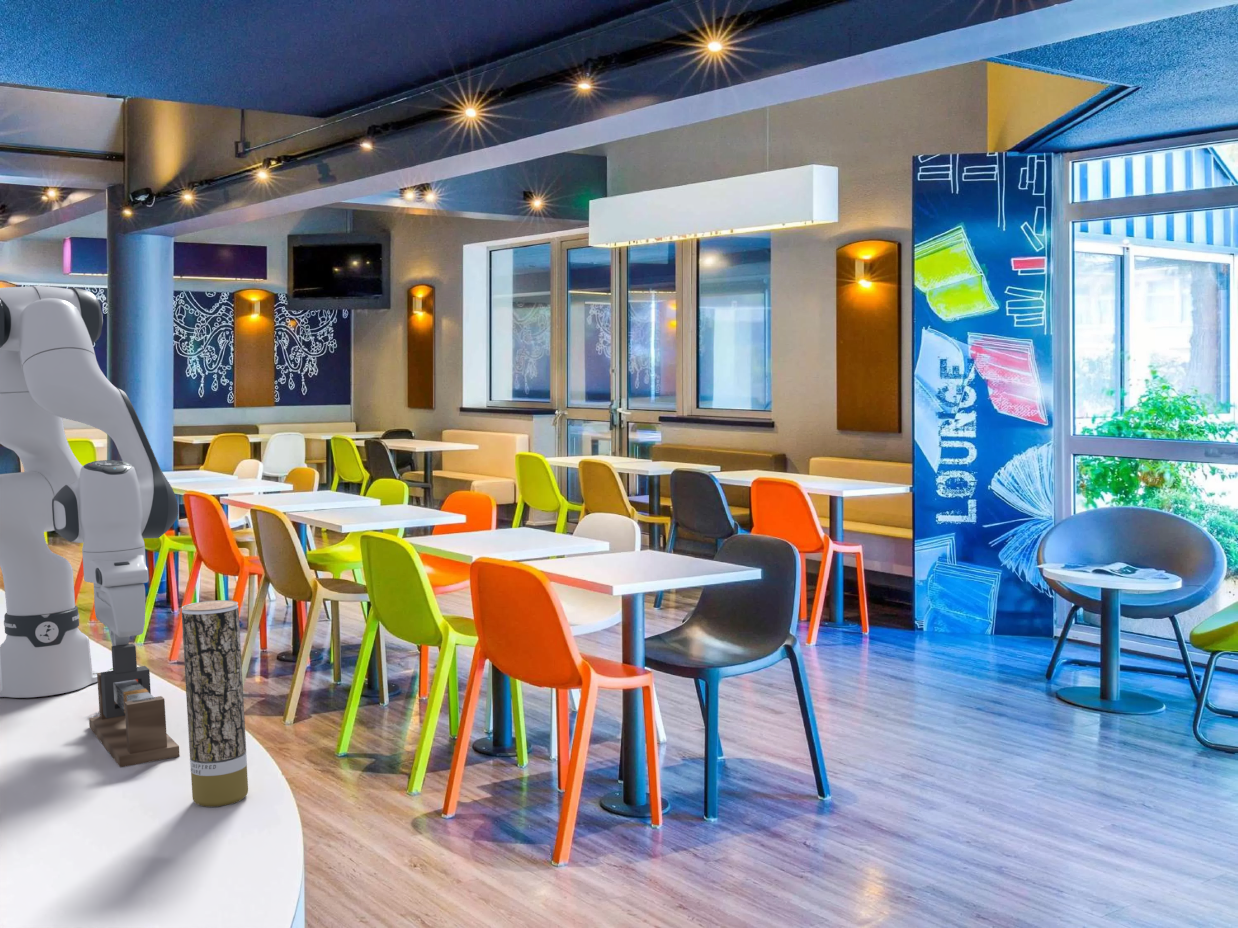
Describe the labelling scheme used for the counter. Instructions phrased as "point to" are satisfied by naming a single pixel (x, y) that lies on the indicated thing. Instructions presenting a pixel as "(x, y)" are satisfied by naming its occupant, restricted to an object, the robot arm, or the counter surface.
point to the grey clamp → (121, 677)
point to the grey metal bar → (129, 692)
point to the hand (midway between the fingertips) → (120, 656)
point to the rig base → (135, 732)
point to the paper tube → (215, 702)
